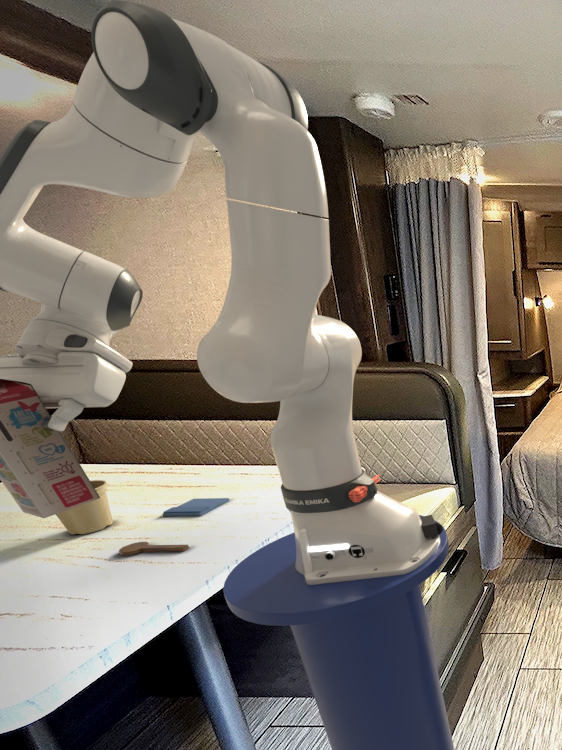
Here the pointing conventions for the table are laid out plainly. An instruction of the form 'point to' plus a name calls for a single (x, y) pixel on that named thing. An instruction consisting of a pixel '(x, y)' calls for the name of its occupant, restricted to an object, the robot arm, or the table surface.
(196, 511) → the cloth
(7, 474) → the juice carton
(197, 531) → the table surface
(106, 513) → the flower pot
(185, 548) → the wooden spoon
